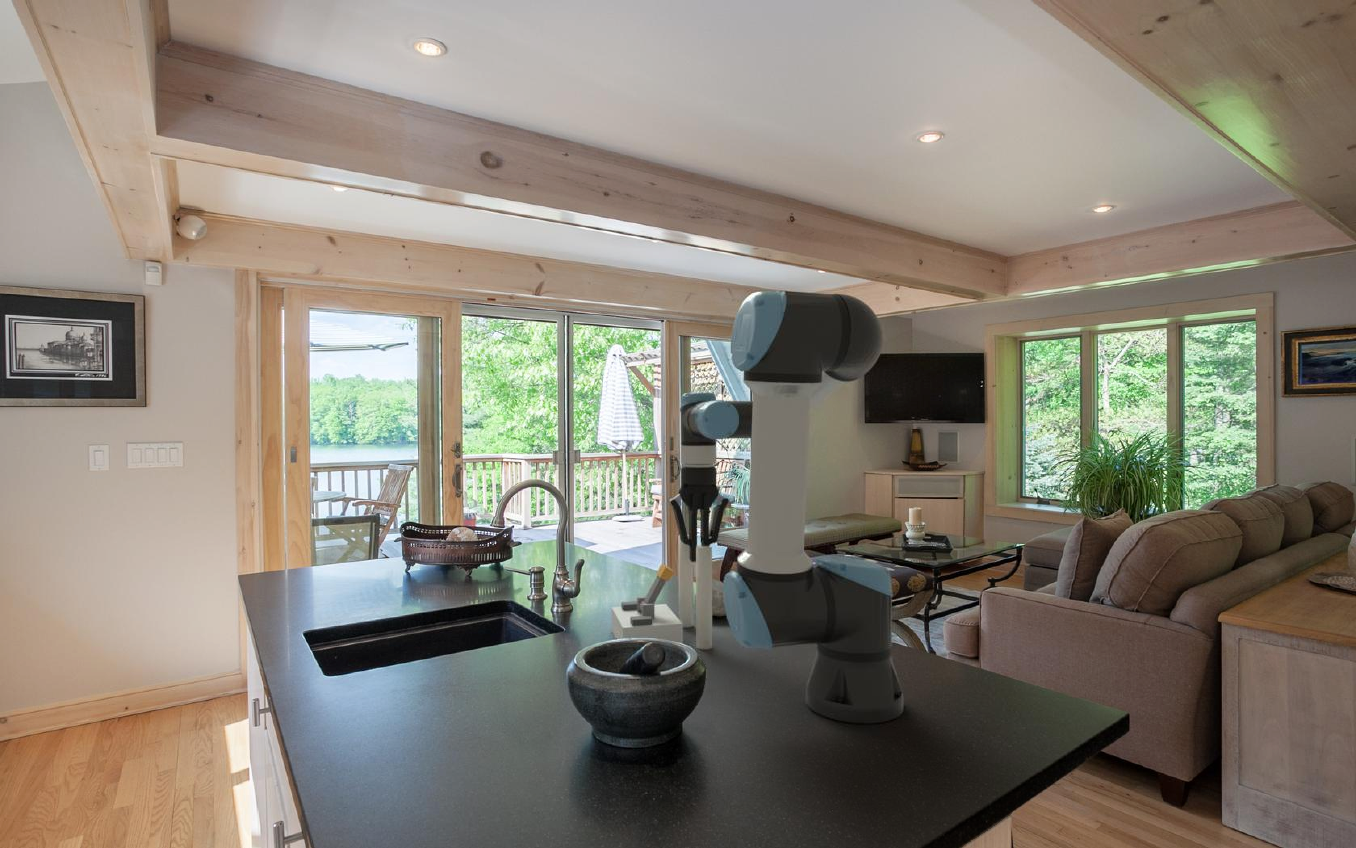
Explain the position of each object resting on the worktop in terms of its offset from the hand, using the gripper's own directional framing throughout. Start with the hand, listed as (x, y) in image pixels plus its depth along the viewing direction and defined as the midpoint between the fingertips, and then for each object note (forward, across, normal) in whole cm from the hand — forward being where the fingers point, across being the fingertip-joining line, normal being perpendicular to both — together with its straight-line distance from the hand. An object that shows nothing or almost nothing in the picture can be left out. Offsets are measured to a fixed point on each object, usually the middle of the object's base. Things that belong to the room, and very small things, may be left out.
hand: (698, 576), depth 153 cm
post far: (+12, +1, -8) cm, 15 cm away
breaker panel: (+12, +12, 0) cm, 17 cm away
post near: (+12, +1, +8) cm, 15 cm away
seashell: (+13, -8, -15) cm, 21 cm away
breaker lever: (+7, +12, 0) cm, 14 cm away
